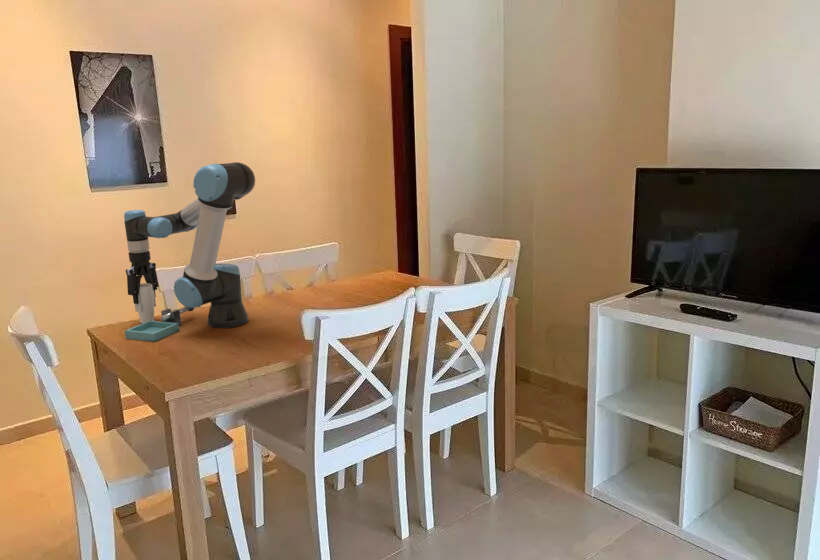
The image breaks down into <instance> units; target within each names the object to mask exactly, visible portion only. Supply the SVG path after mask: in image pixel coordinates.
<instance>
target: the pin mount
mask: <svg viewBox="0 0 820 560" xmlns="http://www.w3.org/2000/svg"><path fill="white" fill-rule="evenodd" d="M171 309H172V308H169V307H168V308H165V309H162V310H160V311H161V312H160V313H161V316H163V315H165V314H168V313H170V316H171V318H170V319H167V320H165V321H163V320H162V319H161V322H170V323H178V325H179V328H180V327H181V326H182V318H181V314H180V310H178V309H179V308H178V309H176V308H175V309H174V310H171Z"/></svg>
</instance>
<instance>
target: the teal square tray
mask: <svg viewBox="0 0 820 560" xmlns="http://www.w3.org/2000/svg"><path fill="white" fill-rule="evenodd" d="M179 332H180V327H179V325H178V323H170V322H162V320H161V321H158V320H155V321H151V320H150V321H147V322H145V323H143V324H142V323H140V324H138V325H135V326H132V327H131V328H128V329H126V330H124V334H125V336H124V337H125V340H132V341H133V340H134V341H143V342H150V343H156V342H159V341H160V340H163V339H165V338H167V337H169V336H171V335H174V334H175V333H179Z"/></svg>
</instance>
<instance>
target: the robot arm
mask: <svg viewBox="0 0 820 560" xmlns="http://www.w3.org/2000/svg"><path fill="white" fill-rule="evenodd" d="M192 182H193V185H192V186H193V189H195V190H194V193H195V195H196V197H197V198H196V199H195V200H193V201H192V202H190V203H188V205H186V206H185V207H183V208H182V209H180V210H179V211H177V212H176V213H171V214H165V215H159V216H147V215H146V211H144V210H142V209H132V210H131V209H130V210H126V211H125V212H124V213H123V219H124V221H123V223H124V228H125V234H126V242H127V243H126V244H127V250H128V251H129V252H128V258H129V262H130V264H131V266H130V268H129V269H125V274H126V281H127V282H126V283H127V286H126V287H127V295H129V296H132V301H133V304H134V308H135V312H136V313H138V312H142V311H143V310H142V302H141V295H139V289H140V284H141V282H142V281H141V280H142V278H144V281H145V283H150V284H152V286H153V294H154V308H155V307H157V302H156V297H157V296H156V291H157V290H158V288H159V280H158V274H157V271H156V270H157V269H156V266H157V264H156V263H155V262H150V260H151V251H150V241H149V238H155V239H164V238H165V239H166V238H168V237H169V236H170V235H173V234H180V233H185V232H190V231H194V230H195V229H196V232H195V235H194V241H193V246H192V251H191V257H190V261H189V264H188V265H186V266H184V269H183V274H182V276H181V277H178V278H177V279H176V280H175V281H174V284H173V292H174V295H175V297H176V299H177V300H178V302H179V303H180V304H181V305H182V306H183V307H188V308H194V309H195V308H200V307H201V306H203V305H206V304H209V303H210V308H209V312H208V316H207V325H208V326H209V327H211V328H216V329H227V328H228V329H229V328H234V327H235V328H236V327H240V326H242V325H245V324H247V323H248V322H249V315H248V313H247V309H246V307H245V306H244V303H243V298H242V286H241V285H242V284H241V283H242V282H241V274H240V268H239V266H238V265H236V264H234V263H233V264H231V263H217V258H218V254H219V251H220V250H219V249H220V246H221V245H220V244H221V240H222V236H223V229H224V226H225V221H226V215H227V211H229V210H230V209H231V208H233V206H234V202H235V201H238V200H240V199H242V198H244V197H245V196H247V195H248V194H250V193H251V192H252V191H253V190H254V188H255V185H256V176H255V173H254V171H253V169H251V167H250V166H248V165H247V164H246V163H242V162H237V161H236V162H229V163H211V164H208V165H204V166H202V167H200V168H199V169H198V170H197V171H196V173H195V175H194V178H193V181H192Z"/></svg>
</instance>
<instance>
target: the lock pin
mask: <svg viewBox="0 0 820 560" xmlns="http://www.w3.org/2000/svg"><path fill="white" fill-rule="evenodd" d="M194 309H195V307H194V308H188V307H185V306H182V307H181V308H178V310H180V315H182V314H183V313H186V312H193V311H194ZM170 318H171V316H170V313H168V314H165V315H163V316H162V315H161V316H160V320H161V321H162V320H163V321H165V320H167V319H170Z"/></svg>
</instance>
